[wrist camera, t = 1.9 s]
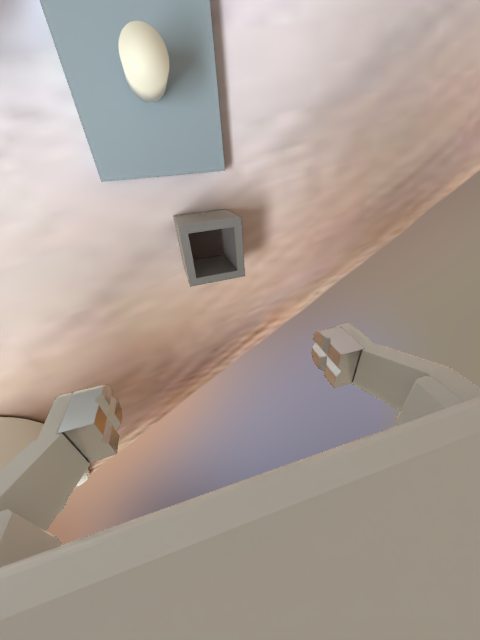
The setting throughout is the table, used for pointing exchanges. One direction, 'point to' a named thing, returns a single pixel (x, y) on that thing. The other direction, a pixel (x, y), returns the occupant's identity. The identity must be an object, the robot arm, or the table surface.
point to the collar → (217, 265)
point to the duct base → (114, 104)
